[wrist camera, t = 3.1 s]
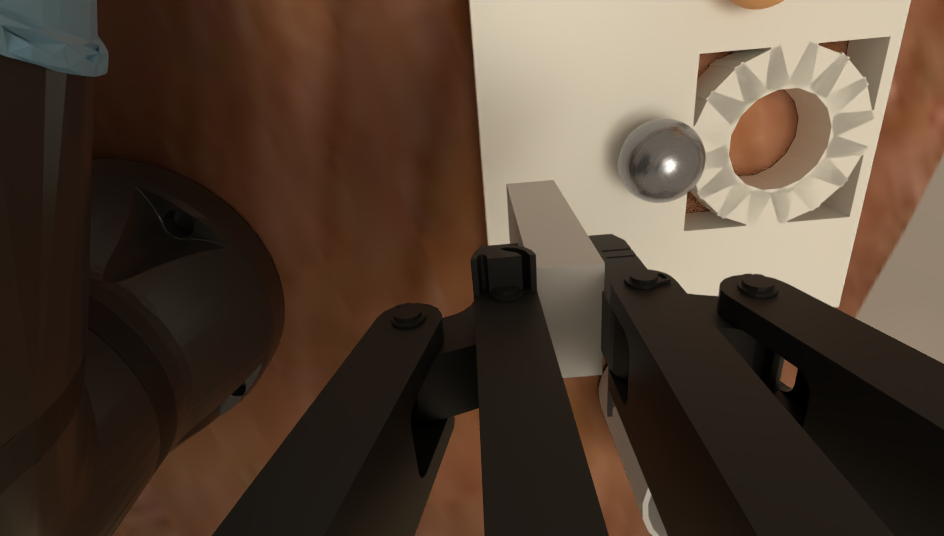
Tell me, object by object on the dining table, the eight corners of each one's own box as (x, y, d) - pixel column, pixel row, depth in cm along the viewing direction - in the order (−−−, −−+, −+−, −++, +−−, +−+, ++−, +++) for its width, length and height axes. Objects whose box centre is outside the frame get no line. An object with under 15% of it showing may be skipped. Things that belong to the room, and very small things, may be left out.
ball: (607, 193, 24) (629, 217, 21) (609, 116, 23) (633, 129, 20) (682, 186, 24) (715, 209, 21) (688, 109, 23) (726, 121, 20)
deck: (492, 312, 30) (495, 335, 27) (464, -54, 22) (464, -64, 20) (809, 285, 29) (838, 306, 27) (887, -94, 22) (936, -109, 20)
